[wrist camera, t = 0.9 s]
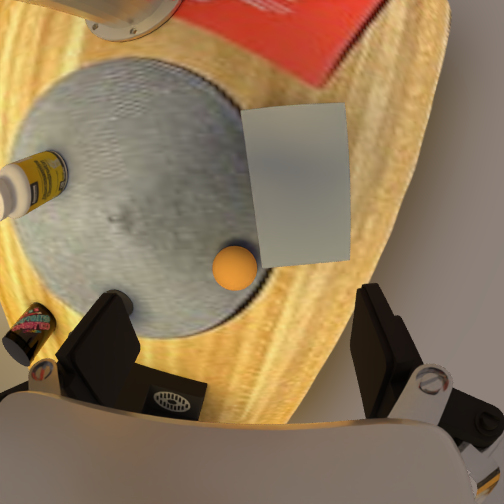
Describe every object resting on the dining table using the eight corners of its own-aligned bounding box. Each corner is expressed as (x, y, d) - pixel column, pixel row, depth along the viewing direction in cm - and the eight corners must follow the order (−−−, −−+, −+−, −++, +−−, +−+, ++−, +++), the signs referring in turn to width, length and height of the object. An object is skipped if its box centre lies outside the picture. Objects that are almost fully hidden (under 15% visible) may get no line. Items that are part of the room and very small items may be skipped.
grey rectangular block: (248, 110, 27) (240, 110, 19) (323, 104, 26) (344, 102, 19) (264, 228, 33) (262, 268, 25) (331, 222, 32) (349, 260, 25)
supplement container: (62, 325, 44) (35, 364, 35) (47, 332, 46) (22, 368, 37) (40, 297, 41) (8, 333, 32) (26, 307, 43) (-2, 340, 34)
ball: (212, 240, 34) (204, 261, 30) (255, 236, 34) (252, 257, 29) (220, 276, 37) (214, 300, 32) (260, 273, 36) (258, 297, 32)
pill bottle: (68, 199, 33) (11, 237, 22) (36, 191, 32) (-20, 224, 22) (71, 152, 30) (7, 177, 19) (37, 147, 29) (-25, 170, 19)
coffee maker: (194, 441, 60) (172, 562, 29) (120, 419, 59) (82, 533, 28) (211, 384, 47) (177, 573, 16) (108, 353, 46) (35, 519, 15)
